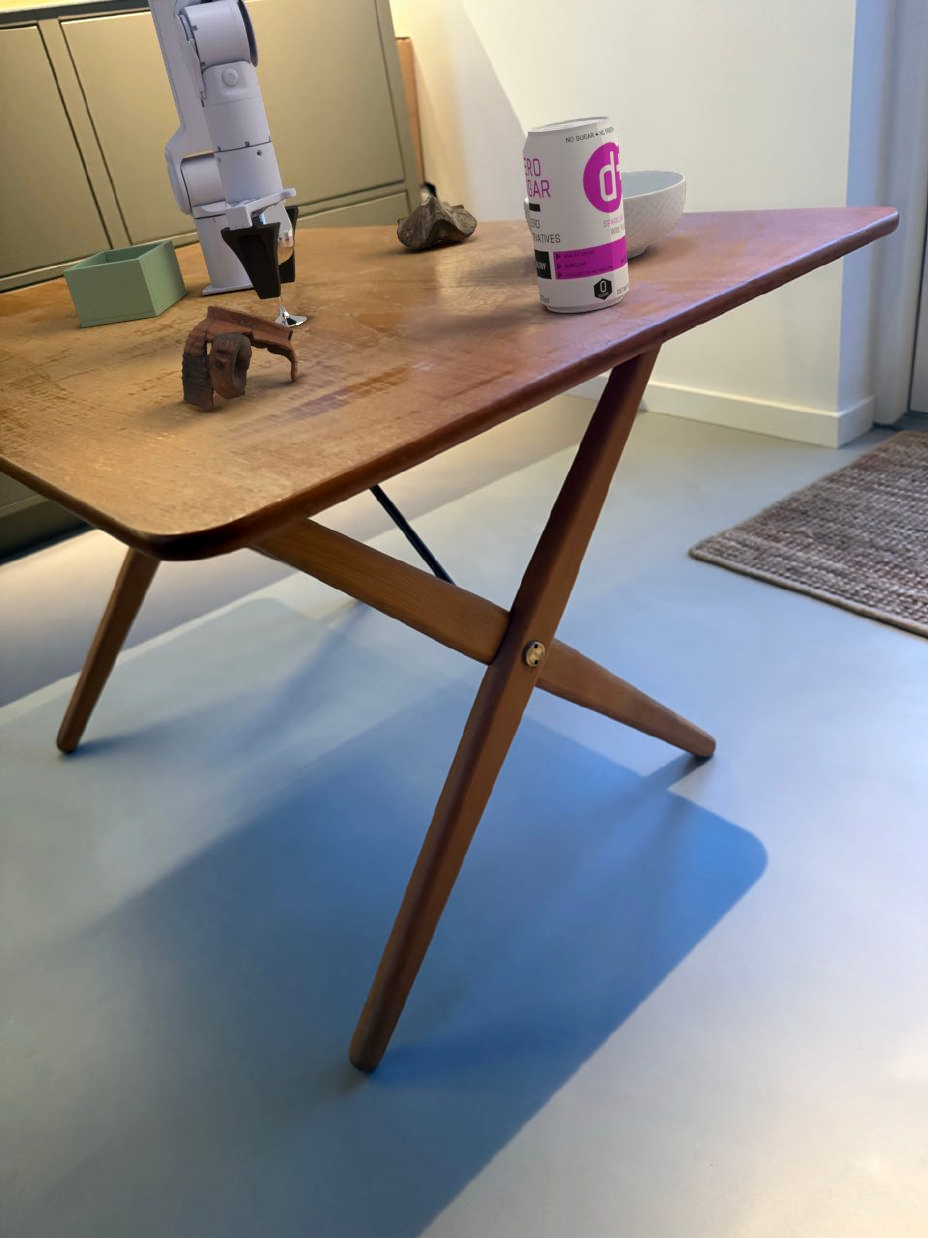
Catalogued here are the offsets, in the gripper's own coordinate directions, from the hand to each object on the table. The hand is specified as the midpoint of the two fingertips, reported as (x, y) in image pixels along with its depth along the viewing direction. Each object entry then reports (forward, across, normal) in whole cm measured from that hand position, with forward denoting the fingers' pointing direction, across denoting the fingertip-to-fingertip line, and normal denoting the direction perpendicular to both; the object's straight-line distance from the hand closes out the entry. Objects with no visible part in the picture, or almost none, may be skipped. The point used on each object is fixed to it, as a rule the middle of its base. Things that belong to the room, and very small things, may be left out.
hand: (278, 290), depth 104 cm
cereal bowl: (+4, +10, -34) cm, 36 cm away
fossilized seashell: (+4, +32, -13) cm, 35 cm away
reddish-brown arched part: (+4, -24, -2) cm, 24 cm away
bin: (+3, +19, +24) cm, 31 cm away
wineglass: (+4, 0, 0) cm, 4 cm away
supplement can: (+4, -9, -31) cm, 32 cm away
